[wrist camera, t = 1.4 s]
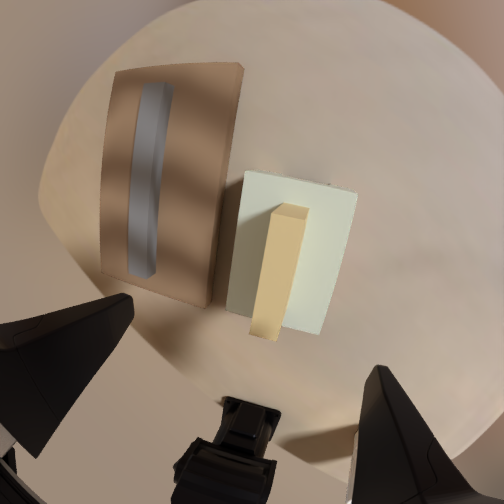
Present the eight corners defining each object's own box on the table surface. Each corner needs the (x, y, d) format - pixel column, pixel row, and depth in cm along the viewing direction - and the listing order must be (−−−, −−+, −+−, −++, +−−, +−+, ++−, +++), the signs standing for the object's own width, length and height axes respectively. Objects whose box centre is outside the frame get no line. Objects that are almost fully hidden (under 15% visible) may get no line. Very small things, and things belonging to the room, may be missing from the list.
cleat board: (211, 301, 25) (197, 317, 22) (110, 267, 27) (92, 277, 24) (244, 68, 18) (231, 56, 15) (125, 74, 20) (105, 68, 18)
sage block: (321, 308, 23) (314, 371, 15) (241, 288, 24) (203, 340, 17) (352, 188, 19) (367, 202, 12) (259, 169, 21) (222, 172, 13)
